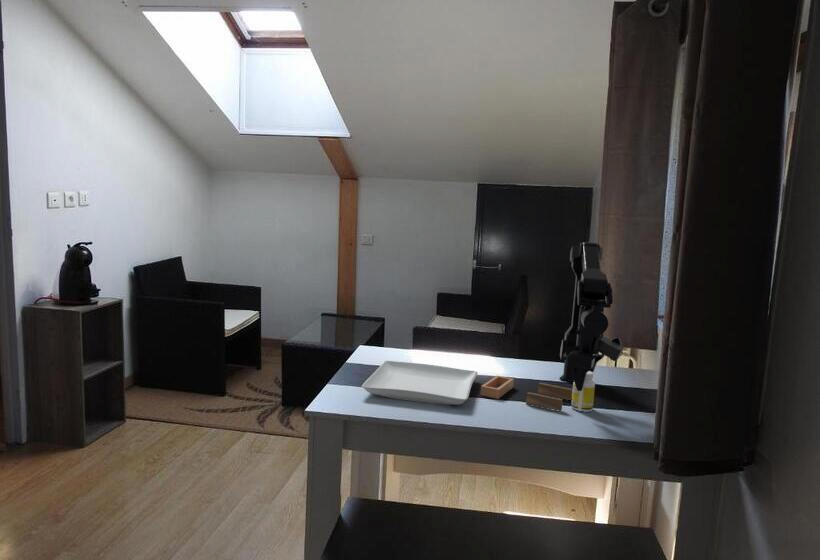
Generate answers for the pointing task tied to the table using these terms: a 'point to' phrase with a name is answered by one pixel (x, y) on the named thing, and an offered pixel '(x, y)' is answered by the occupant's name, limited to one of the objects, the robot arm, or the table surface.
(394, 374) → the square plate
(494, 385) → the trap pit
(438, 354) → the table surface
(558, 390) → the walled lane
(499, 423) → the table surface
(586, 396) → the supplement bottle
